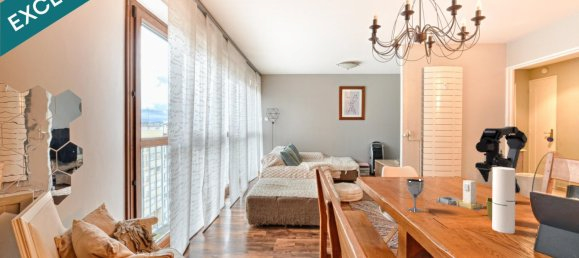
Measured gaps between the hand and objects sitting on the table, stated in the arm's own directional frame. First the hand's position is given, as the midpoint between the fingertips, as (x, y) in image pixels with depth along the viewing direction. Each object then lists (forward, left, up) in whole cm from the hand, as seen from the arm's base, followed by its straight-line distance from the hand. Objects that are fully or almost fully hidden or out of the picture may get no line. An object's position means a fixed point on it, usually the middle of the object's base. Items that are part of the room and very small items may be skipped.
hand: (492, 181), depth 142 cm
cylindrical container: (+38, +12, -13) cm, 42 cm away
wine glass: (+39, -23, -13) cm, 47 cm away
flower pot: (+26, +8, -13) cm, 30 cm away
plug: (+14, -6, -12) cm, 20 cm away
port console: (+13, -11, -13) cm, 22 cm away
